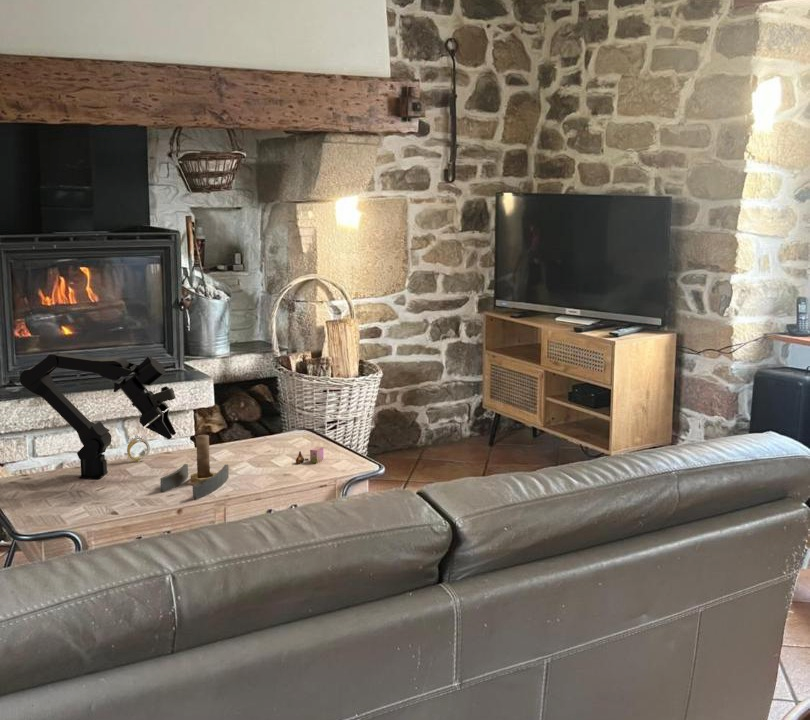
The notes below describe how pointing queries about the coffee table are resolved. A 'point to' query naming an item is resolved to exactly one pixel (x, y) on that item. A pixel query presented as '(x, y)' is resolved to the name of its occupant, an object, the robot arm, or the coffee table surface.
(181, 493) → the coffee table surface
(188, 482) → the tile
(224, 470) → the gray curved bar
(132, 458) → the ring
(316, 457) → the perfume bottle
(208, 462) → the brown cylinder
